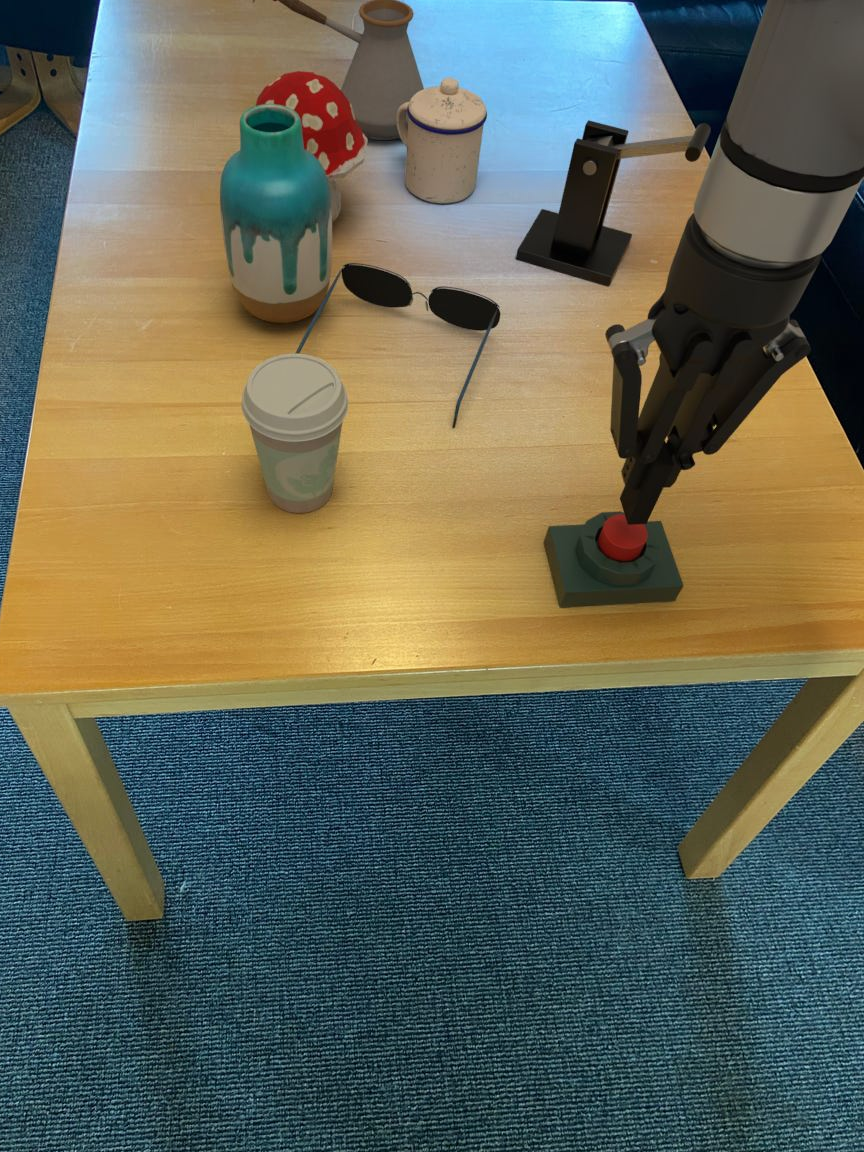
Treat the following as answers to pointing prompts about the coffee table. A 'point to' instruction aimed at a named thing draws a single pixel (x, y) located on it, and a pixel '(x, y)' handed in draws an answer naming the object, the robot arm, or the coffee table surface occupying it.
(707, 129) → the lever
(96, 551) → the coffee table surface
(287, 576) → the coffee table surface
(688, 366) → the robot arm
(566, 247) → the black lever stand
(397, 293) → the sunglasses
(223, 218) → the vase
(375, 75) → the coffee pot
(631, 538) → the button
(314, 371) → the coffee cup
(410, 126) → the teacup with lid
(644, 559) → the button housing
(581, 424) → the coffee table surface
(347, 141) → the decorative mushroom
